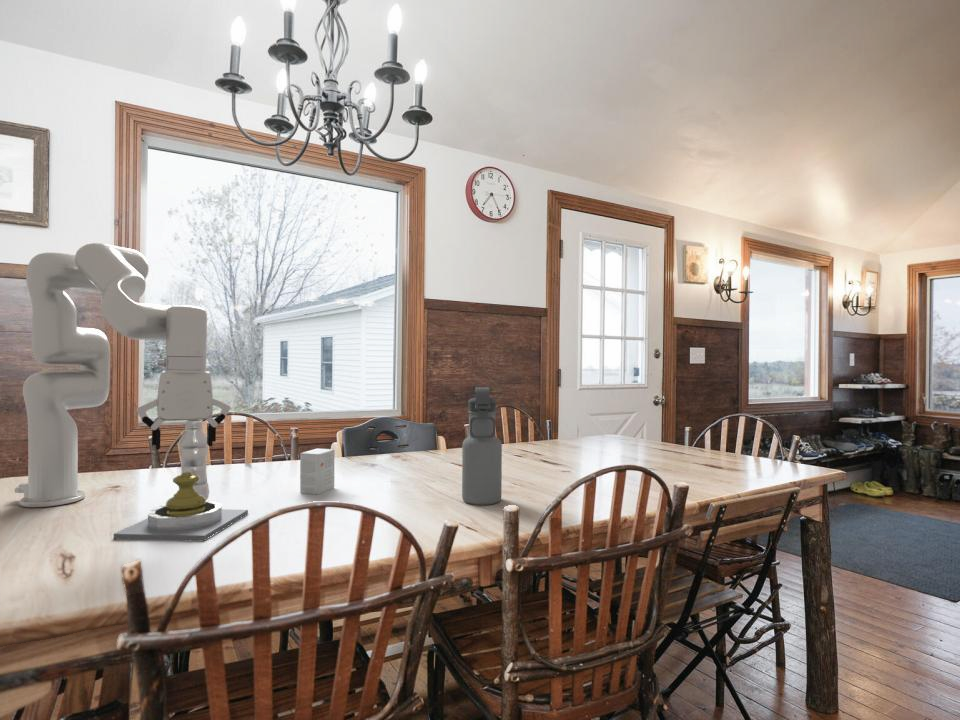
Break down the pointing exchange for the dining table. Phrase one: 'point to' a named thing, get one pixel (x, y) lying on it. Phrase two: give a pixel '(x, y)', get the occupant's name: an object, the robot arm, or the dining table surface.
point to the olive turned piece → (185, 497)
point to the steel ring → (184, 518)
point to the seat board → (201, 533)
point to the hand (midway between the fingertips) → (184, 446)
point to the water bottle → (482, 453)
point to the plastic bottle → (195, 454)
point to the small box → (316, 471)
